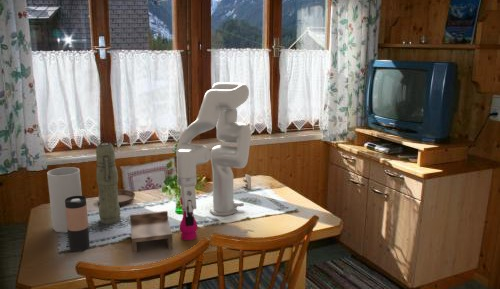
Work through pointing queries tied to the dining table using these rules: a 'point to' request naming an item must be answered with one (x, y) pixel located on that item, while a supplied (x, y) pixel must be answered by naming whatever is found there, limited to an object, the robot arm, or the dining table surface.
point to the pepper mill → (187, 231)
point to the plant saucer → (125, 196)
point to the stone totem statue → (107, 184)
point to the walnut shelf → (150, 228)
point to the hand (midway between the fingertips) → (188, 221)
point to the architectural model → (247, 181)
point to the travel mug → (77, 223)
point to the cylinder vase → (62, 193)
